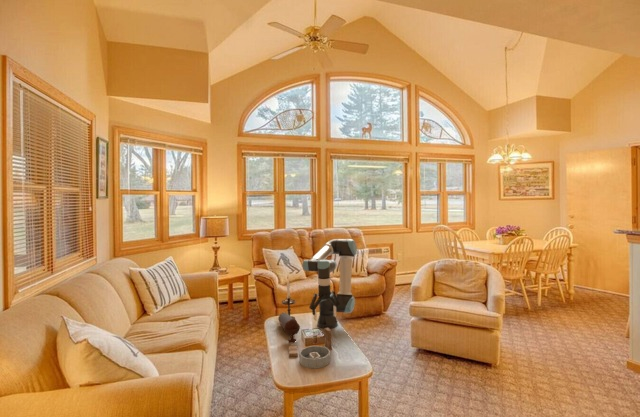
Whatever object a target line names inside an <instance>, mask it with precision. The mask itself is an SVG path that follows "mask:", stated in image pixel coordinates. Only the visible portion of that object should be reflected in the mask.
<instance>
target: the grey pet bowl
mask: <svg viewBox="0 0 640 417" xmlns="http://www.w3.org/2000/svg"><path fill="white" fill-rule="evenodd" d="M298 356H299V357H298V358H299V364H300V365H301V366H302V367H304V368H307V369H319V368H320V369H321V368H323V367H327V365H329V364H330V363H331V349H330V350H329V349H328V348H326V347H325V346H322V345H310V346H306V347H304V348H302V349H300V351H299V353H298Z"/></svg>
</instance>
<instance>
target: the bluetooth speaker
mask: <svg viewBox="0 0 640 417" xmlns="http://www.w3.org/2000/svg"><path fill="white" fill-rule="evenodd" d="M291 319H292V317H291V314H290V315H288V312H281V313H280V314H279V315H278V322H279V324H280V326H281V327H282V329H284V326H285V324H286V322H287V321H290V320H291Z"/></svg>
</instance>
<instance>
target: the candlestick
mask: <svg viewBox="0 0 640 417" xmlns="http://www.w3.org/2000/svg"><path fill="white" fill-rule="evenodd" d="M286 290H287V291H286V292H287V293H286V295H287V297H286V298H285V299H283V300H282V301H281V304H282V305H284V306H287V314H288V315H290V316H291V314H292V312H291V311H292V310H291V305H294V304H296V300H295V299H293V298H292V297H291V294H290V292H291V291H290V290H291V289H290V280H289V276H287V280H286ZM291 317H292V319H295V320H296V317H295V316H293V315H292V316H291Z"/></svg>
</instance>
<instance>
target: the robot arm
mask: <svg viewBox="0 0 640 417" xmlns="http://www.w3.org/2000/svg"><path fill="white" fill-rule="evenodd" d="M357 248H358V246H357V243H356V241H355V240H354V239H352V238H334V239H330V240H328V241H327V242H325V243H323V244H322V246H321V247H320V249H318V251H317V252H316V253H315V254H314V255H313V256H312V257H311V258H310V259H304V260H303V261H302V269H303V271H304V272H305V271H306V272H317V283H318V286H317V287H318V288H317V289H318V292H317V293H316V292H314V293H313V297H312V299H311V302H310V305H309V307H308V308H309V309H310V310H312V315H313V320H314V321H317V324H316V325H317V327H319V328H322V329H324V328H329V329H333V328H335V327H338V324H339V323H338V319H337V313H342V314H343V313H344V314H351V313H353V311H354V308H355V304H356V299H355V297H354V296H353V293H352V291H351V290H352V266H353V265H352V264H353V259H355V255H357V254H358V253H357V252H358V249H357ZM332 255H338V258H340V263H339V264H340V265H339V266H340V267H339V286H338V288H339V290H338V292H337V293H336V291H335V290H331V274H330V273H331V272H334V271H335V270H336V269H337V263H336V260H334V259H327V258H328V257H330V256H332ZM317 307H318V308H319V309H318V310H319V311H318V312H319V314H318V315H319V316H318V318H317Z"/></svg>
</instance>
